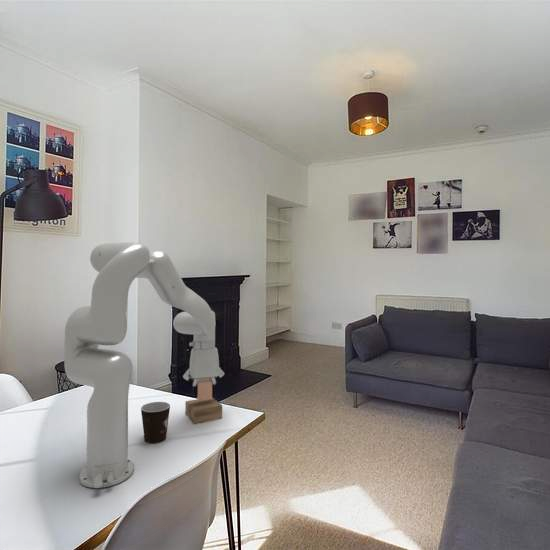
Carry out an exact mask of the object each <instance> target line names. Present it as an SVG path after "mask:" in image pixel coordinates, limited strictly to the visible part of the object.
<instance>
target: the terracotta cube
mask: <svg viewBox="0 0 550 550" xmlns="http://www.w3.org/2000/svg"><path fill="white" fill-rule="evenodd" d="M212 398H213V396H212V381H211V378H200V379H198V381H197V398H196V399H197V400H205V399H212Z"/></svg>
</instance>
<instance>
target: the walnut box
mask: <svg viewBox="0 0 550 550" xmlns="http://www.w3.org/2000/svg"><path fill="white" fill-rule="evenodd" d="M184 413H185V416H186V417H187V418H188V419H189V420H190V421H191V422H192V423H193V424H194V425H198V423H199V424H202V423H207V422H212V421H216V420H221V419H223V405H222V404H221V403H220V402H219V401H217V400H216V399H215V398H213V397H212V399H205V400H197V398H196V399H193V400H186V401H185V412H184Z"/></svg>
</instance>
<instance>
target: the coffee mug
mask: <svg viewBox="0 0 550 550" xmlns="http://www.w3.org/2000/svg"><path fill="white" fill-rule="evenodd" d="M170 410H171V404H170V403H169V402H165V401H153V402H152V401H151V402H149V403H145V404H143V405H142V406H141V407H140V412H141V413H140V414H141V419H142V420H141V421H142V428H143V429H142V430H143V439H144V442H145V443H147V444H152V445H153V444H154V445H155V444H160V443H162V442H164V441H166V439H167V436H168V435H167V434H168V426H169V417H170Z"/></svg>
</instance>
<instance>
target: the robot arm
mask: <svg viewBox="0 0 550 550" xmlns="http://www.w3.org/2000/svg"><path fill="white" fill-rule="evenodd" d="M89 257H90V258H89V259H90V260H89V261H90V264H91V266H92V267H93V269H94V270H95V271H96V272H98V274H97V275H96V277H95V279H94V282H93V285H92V289H91V297H90V298H91V299H90V306H88V305H87V306H81V307H79V308H77V309H75V310H74V311H72V312H71V314H70V315H69V317H68V318H67V320H66V323H65V329H64V358H63V359H64V364H63V365H64V371H65V372H64V373H65V374H66V378H67V379H68V380H69V381H71V382H72V383H73V384H78V385H83V386H87V387H91V388H93V392H92V394H91V396H90V398H89V400H88V402H87V408H86V466H85V467H84V468H83V469H82V470H81V472H80V473H79V483H80V484H81V485H82V486H84V487H86V488H90V489H103V488H108V487H112V486H115V485H118V484H121V483H122V482H124V481H126V480H127V479H128V478H130V477H131V476H132V475H133V472H134V470H135V465H134V462H133V461H132V460H131V459H129V457H128V456H129V455H128V454H129V453H128V452H129V451H128V448H129V447H128V446H129V445H128V444H129V439H128V438H129V393H130V392H129V391H130V386H131V382H132V381H131V380H132V375H133V368H134V367H133V363H132V360H131V358H130V357H129V356H128V355H126V354H125V353H123V352H121V351H118V350H113V349H105V348H104V349H103V348H99V346H117V345H119V344H120V343H122V342H123V341H124V340H125V338H126V336H127V332H128V306H129V305H128V304H129V303H128V300H129V299H128V298H129V291H130V288H131V285H132V283H133V281H134V280H135V279H137V278H139V279H143V278H144V279H147V280H148V281H149V282H150V284H151V285H152V287H153V289H154V290H155V292H156V293H157V295H158V297H159V299H161V301H162V302H164V303H165V304H167V305H169V306H171V307H174V308H176V309H179V310H182V311H181V312H179V313H177V314H176V316H174V319H173V321H172V322H173V324H172V325H173V328H174V329H175V331H176V332H177V333H179V334H184V335H193V340H192V341H191V342H189V345H188V346H189V347H192V348H191V351H190V357H189V368H188V369H186V371H185V373H184V374H183V375H182V378H183V379H184V380H186V381H188V383H190V385H192V395H194V398H196V399H197V381H198V379H203V378H210V379H211V381H212V397H214V393H216V384H217V382H218V381H220V379H221V378H222V377H224V375H225V372H224V371H223V370H222V369H221V367H220V360H219V358H220V357H219V352H218V351H219V350H218V348H217V347H216V325H217V323H216V313H215V311H213V310H212V309H211V307H210V305H209V304H208V302H207V301H206V300H205V299H204V298H202V297H201V296H200V295H198V293H196V292H195V291H193V289H191V288H189V287H188V286H186V284H185V282H184V281H183V279H182V277H181V275H180V274H179V272H178V270H177V268H176V267H175V265H174V262H173V261H172V259H171V257H170V256H169V255H168V254H167V252H165V251H163V250H159V249H149V248H148V247H147V246H146V245H145V244H142V243H138V242H115V243H114V242H113V243H112V242H110V243H109V242H108V243H101V244H99V245H96V246H95V247H94V248H93V249H92V250H91V253H90V256H89Z"/></svg>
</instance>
